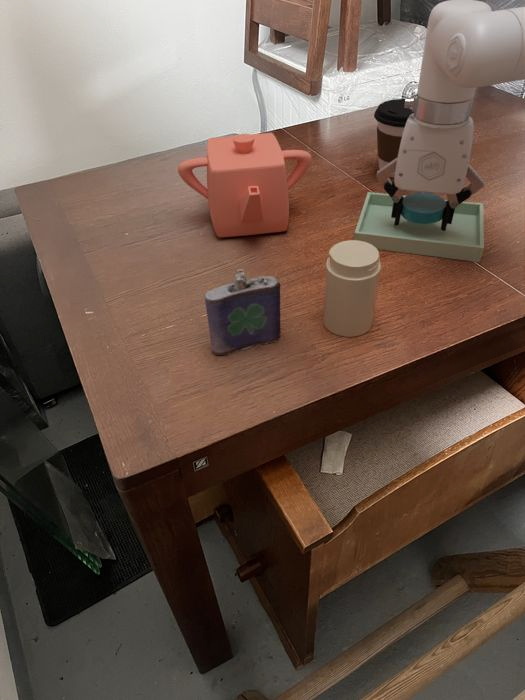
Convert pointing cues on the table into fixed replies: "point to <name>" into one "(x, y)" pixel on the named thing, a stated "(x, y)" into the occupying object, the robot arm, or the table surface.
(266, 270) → the table surface
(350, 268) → the jar
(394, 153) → the coffee cup
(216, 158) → the teapot
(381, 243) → the tray
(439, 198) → the lid
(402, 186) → the robot arm
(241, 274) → the flask
